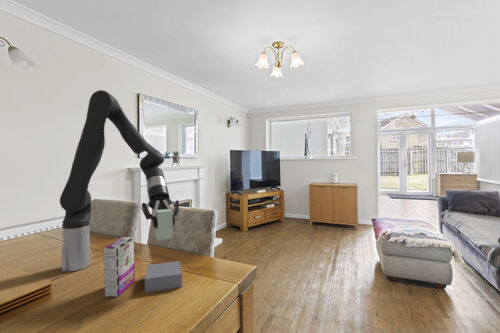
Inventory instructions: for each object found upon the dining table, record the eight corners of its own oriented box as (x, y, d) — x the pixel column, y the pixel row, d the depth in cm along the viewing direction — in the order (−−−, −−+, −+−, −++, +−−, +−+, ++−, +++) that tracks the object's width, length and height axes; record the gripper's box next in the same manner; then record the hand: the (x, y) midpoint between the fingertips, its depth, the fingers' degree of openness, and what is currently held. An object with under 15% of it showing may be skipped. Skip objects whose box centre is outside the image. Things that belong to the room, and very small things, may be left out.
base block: (144, 293, 82) (144, 279, 82) (147, 278, 93) (147, 265, 93) (181, 288, 86) (181, 273, 86) (180, 273, 97) (180, 261, 97)
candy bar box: (121, 281, 90) (121, 236, 90) (135, 281, 90) (135, 236, 90) (103, 297, 79) (102, 247, 79) (118, 297, 79) (118, 247, 79)
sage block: (158, 240, 86) (157, 212, 86) (155, 237, 90) (155, 210, 90) (172, 238, 88) (172, 210, 88) (169, 234, 93) (168, 208, 93)
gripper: (139, 184, 92) (144, 223, 82) (177, 183, 99) (186, 217, 89) (137, 197, 96) (142, 234, 86) (174, 194, 104) (182, 229, 94)
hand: (165, 226), depth 88 cm, fingers closed on sage block, 5 cm apart
